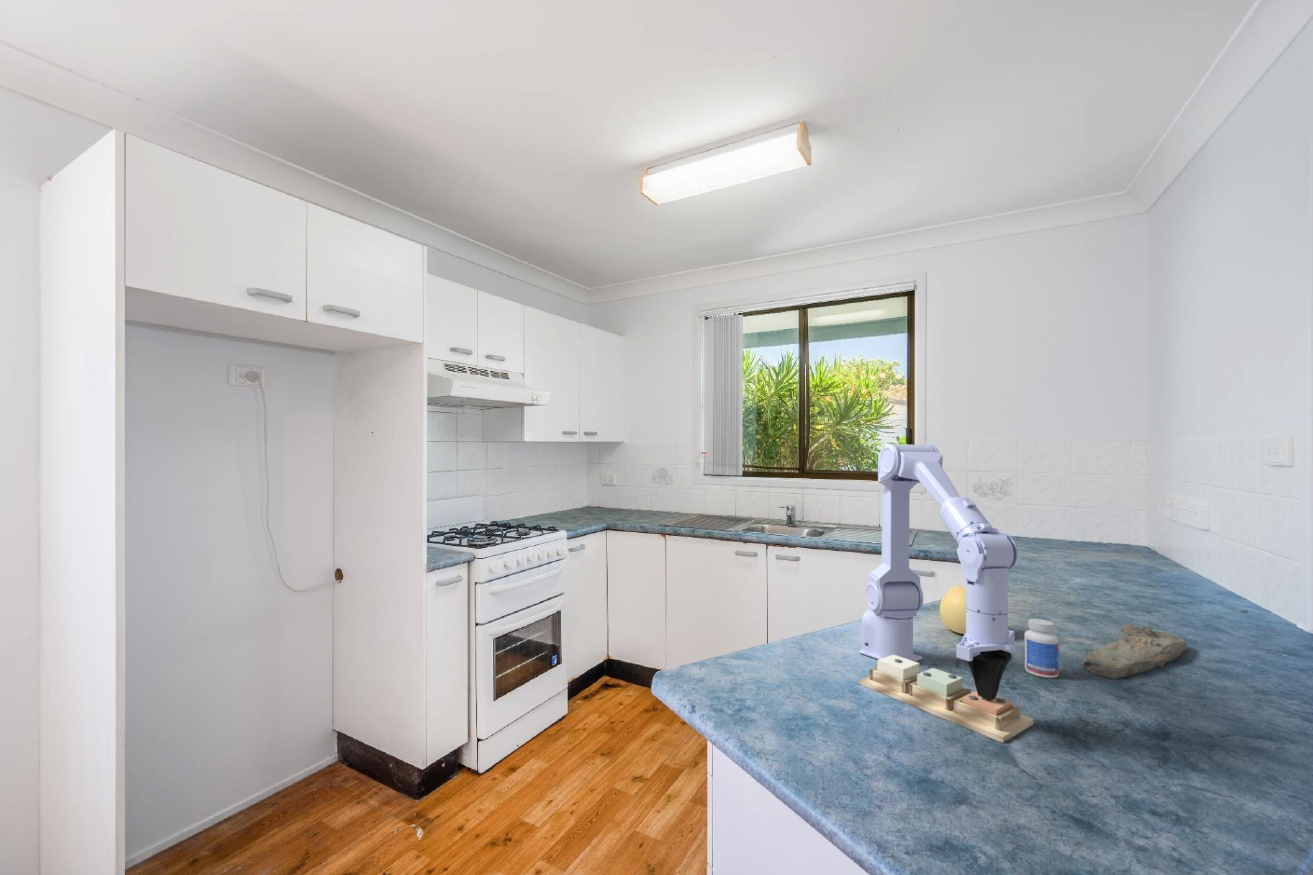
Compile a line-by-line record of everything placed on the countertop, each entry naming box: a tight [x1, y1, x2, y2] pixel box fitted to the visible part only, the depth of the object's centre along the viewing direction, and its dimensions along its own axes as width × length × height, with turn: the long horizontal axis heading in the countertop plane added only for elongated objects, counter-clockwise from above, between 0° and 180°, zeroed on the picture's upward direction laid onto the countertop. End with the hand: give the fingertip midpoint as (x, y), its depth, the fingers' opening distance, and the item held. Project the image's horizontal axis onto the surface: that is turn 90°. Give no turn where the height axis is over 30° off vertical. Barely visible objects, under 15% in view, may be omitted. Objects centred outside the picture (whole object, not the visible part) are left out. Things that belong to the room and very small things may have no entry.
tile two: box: [917, 667, 963, 697], centre depth 93 cm, size 5×5×3 cm
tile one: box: [876, 655, 920, 681], centre depth 99 cm, size 5×5×3 cm
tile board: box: [858, 666, 1034, 744], centre depth 93 cm, size 24×10×3 cm, turn 34°
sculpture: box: [939, 584, 966, 635], centre depth 130 cm, size 12×12×11 cm
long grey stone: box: [1081, 623, 1188, 680], centre depth 114 cm, size 35×5×10 cm
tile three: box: [962, 690, 1013, 716], centre depth 86 cm, size 5×5×3 cm
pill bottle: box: [1023, 618, 1060, 679], centre depth 106 cm, size 6×5×10 cm
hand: (986, 696), depth 87 cm, fingers closed
